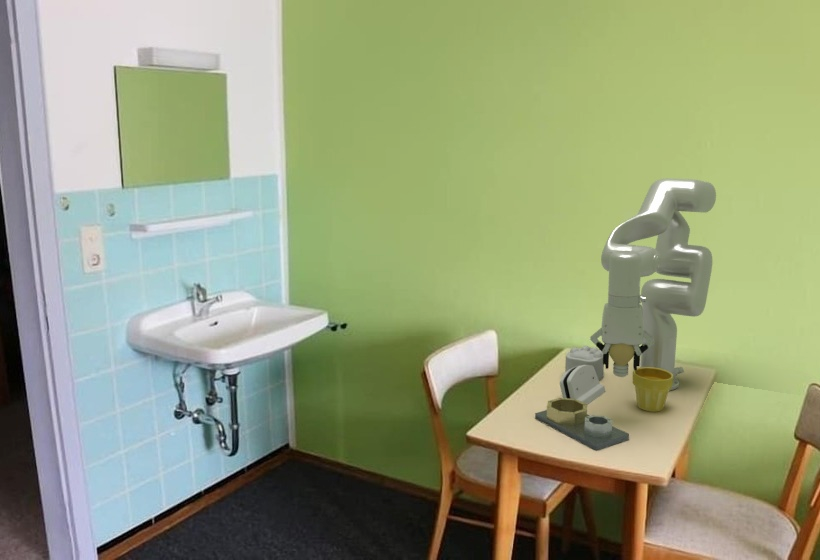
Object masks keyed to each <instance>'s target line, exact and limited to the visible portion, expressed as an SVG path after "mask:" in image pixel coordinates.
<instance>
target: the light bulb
mask: <svg viewBox="0 0 820 560" xmlns="http://www.w3.org/2000/svg"><path fill="white" fill-rule="evenodd" d="M608 351H609V358H611V359H612V361H613V365H612V366H613V367H612V368H613V369H612V370H613V371H612V373H613V375H615V376H616V377H619V378H625V377H626V376H629V366H630V365H629V362H630V361H631V360H632V359H633V358H634V353H635V349H634V347H633V345H627V344H623V343H620V344H611V346H610V348H609V350H608Z"/></svg>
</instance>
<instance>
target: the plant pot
mask: <svg viewBox="0 0 820 560" xmlns="http://www.w3.org/2000/svg"><path fill="white" fill-rule="evenodd" d="M632 384H633V385H634V389H635V395H636V403H637V407H638V408H639V409H641V410H643V411H646V412H653V413H654V412H660V411H663V409H664V407H665V403H666V400H667V397H668V394H669V391H671V390H670V389H671V388H672V384H673V374H672V373H670V372H669V371H667V370H664V369H660V368H654V367H641V368H640V367H637V371H635V370H634V369H633V371H632Z"/></svg>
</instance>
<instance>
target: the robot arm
mask: <svg viewBox="0 0 820 560" xmlns="http://www.w3.org/2000/svg"><path fill="white" fill-rule="evenodd" d="M716 198H717V192H716V189H715V186H714V185H713V184H712V183H711V182H710V181H704V180H698V179H691V178H690V179H689V178H688V179H687V178H660V179H657V180H655V181H654V182H653V183H651V185H650V186H649V189H648V190H647V193H646V195H645V197H644V200H643V202H642V204H641V206H640V208H639V209H638V213H637V214H635V215H634V216H632V217H630V218H628V219H627V220H625V221H623V222H622V223H621V224H619V225H617V226H616V227H615V228H614V229H613V230H612V231H611V232H610V234H609V236H608V237H607V240H606V241H605V245H604V246H603V249H602V253H601V256H600V257H601V259H600V260H601V262H600V263H601V266H602V268H603V269H604V270H606V271H607V272H608V288H607V289H608V293H607V294H608V295H607V298H608V299H607V302H606V303H604V306H603V310H602V319H601V327H600V328H599V329H598V330H596V331H595V332H594V333H593V334H591V336H590V337H589V338H590V339H589V340H590V341H591V342H592V343H593V344H594V345H595V346H596V348H597V349H598V350H600V351H602V353H603V364H604V368H605V370H608V369H609V363H610V361H609V360H610V355H609V351H608V350H609V348H610V346H611V344H620V343H623V344H627V345H633V347H634V349H635V353H634V356H633V364H632V365H633V367H632V368H633V371H634V370H635V371H637V368H638V367H639V368H641V367H654V368H660V369H664V370H667V371H669V372H670V373H672V374H673V384H672V388H671V389H670V390H669V391H674V390H676V389H678V388H679V386H680V382H679V379H677V378H676V376H677V375H680V374H682V373H684V371H685V369H684V367H682V366H678V367H676V366H675V365H676V363H675V362H676V349H677V338H678V337H677V335H678V326H677V324H676V320H674V317H673V316H672V315H678V316H683V317H684V316H685V317H686V316H687V317H699V316H701V315H702V314H703V313H704V311H705V307H706V303H707V300H708V299H707V298H708V293H709V287H710V282H711V276H712V271H713V269H712V268H713V255H712V252H711V250H710V249H709V248H708V247H706V246H703V245H693V244H689V238H690V234H691V228H690V225H689V223H688V222H687V220H686V218H685V217H684V216H683V215H682V214H681V213H680V212H689V213H705V214H707V213H709V212H710V211H711V210H712V209H713V208H714V207H715V204H716V200H717V199H716ZM656 236H657V237H656ZM652 237H656V238H657V239H656V243H655V248H654V247H651V246H647V245H646V246H645V245H635V244H631V243H633V242H637V241H641V240H644V239H650V238H652ZM654 273H657V274H659V275H662V276H666V277H676V278H683V279H690V282H689V281H681V280H673V279H665V278H653V279H649V280H647V281H645V282H644V283H643V285H642V286H641V278H643V277H649V276H652V275H654ZM641 287H642V288H641ZM600 337H601V341H602V342H601V341H600V340H599V339H598V338H600Z"/></svg>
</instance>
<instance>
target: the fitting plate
mask: <svg viewBox="0 0 820 560" xmlns="http://www.w3.org/2000/svg"><path fill="white" fill-rule="evenodd" d="M546 404H547V406H546V409H545V410H542V411H538V412H535V413H534V419H535V420H538V422H541V423H543V424H545V425H547V426H548V427H551V428H552V429H555V430H556V431H558V432H559V433H561V434H564V435H565V436H567V437H570V438H571V439H573V440H574V441H577V442H579V443H580V444H583V445H584V446H587V447H589V449H592V450H594V451H599V450H602V449H605V448H608V447H612V446H614V445H617V444H620V443H623V442H626V441H629V440H630V433H628V432H626V431H624V430H622V429H620V428H618V427H615V426H613V419H612V418H610V417H607V416H605V415H602V414H601V415H600V414H599V415H598V414H591V415H590V414H588V405H587V404H586V403H583V402H581V401H579V400H577V399H569V398H563V397H557V398H555V399H550V400H548V401H547V403H546Z"/></svg>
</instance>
